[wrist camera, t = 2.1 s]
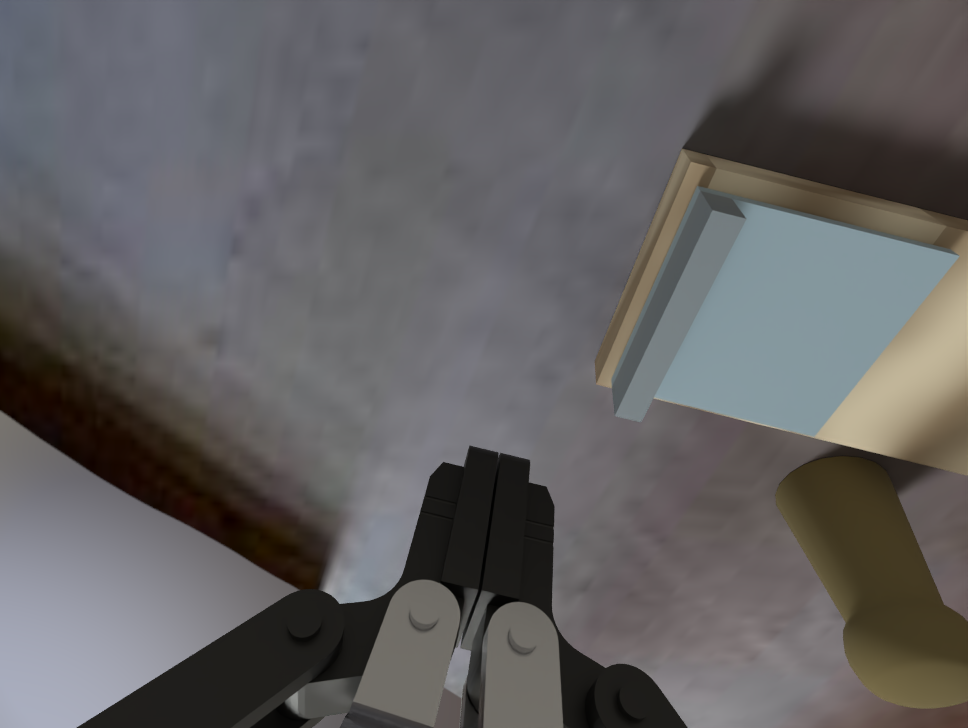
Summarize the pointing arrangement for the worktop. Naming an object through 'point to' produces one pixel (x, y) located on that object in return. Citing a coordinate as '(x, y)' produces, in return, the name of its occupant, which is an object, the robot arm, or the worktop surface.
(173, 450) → the worktop surface
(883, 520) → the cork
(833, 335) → the cover
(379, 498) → the worktop surface
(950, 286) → the board
